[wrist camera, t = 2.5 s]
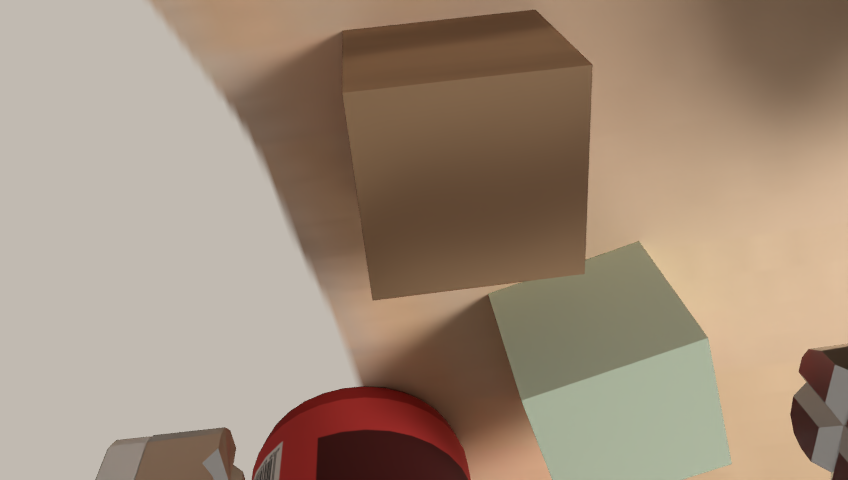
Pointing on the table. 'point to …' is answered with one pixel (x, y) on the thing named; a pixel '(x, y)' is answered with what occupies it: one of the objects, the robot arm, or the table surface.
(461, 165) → the walnut cube
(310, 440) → the canned food
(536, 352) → the sage block
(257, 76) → the table surface
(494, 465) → the table surface
